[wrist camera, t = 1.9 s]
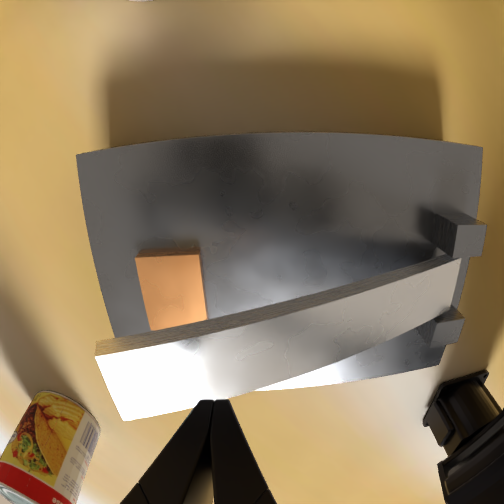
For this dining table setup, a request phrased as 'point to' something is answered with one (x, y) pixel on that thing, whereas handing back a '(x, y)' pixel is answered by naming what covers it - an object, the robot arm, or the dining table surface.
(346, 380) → the silver metal tray
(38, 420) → the canned food
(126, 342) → the steel strap
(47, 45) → the dining table surface
